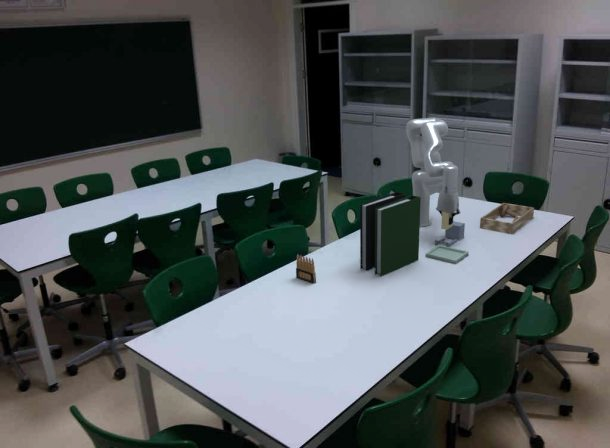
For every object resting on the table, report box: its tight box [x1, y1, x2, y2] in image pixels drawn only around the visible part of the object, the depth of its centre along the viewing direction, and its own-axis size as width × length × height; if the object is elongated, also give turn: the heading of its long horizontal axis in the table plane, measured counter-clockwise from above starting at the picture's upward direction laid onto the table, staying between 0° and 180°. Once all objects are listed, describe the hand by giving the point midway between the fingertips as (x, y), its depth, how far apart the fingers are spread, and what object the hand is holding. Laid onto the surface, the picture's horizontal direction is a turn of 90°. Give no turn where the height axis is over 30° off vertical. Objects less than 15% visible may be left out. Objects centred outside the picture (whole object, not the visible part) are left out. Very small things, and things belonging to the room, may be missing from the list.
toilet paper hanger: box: [499, 205, 519, 223], centre depth 308 cm, size 25×9×8 cm, turn 151°
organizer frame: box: [479, 202, 535, 235], centre depth 306 cm, size 18×34×6 cm, turn 140°
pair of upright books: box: [359, 191, 421, 278], centre depth 253 cm, size 27×15×32 cm, turn 132°
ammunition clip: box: [295, 253, 317, 284], centre depth 242 cm, size 11×2×12 cm, turn 48°
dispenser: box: [434, 220, 466, 248], centre depth 282 cm, size 8×18×8 cm, turn 140°
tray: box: [424, 244, 469, 265], centre depth 264 cm, size 16×14×2 cm
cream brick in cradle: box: [440, 211, 453, 230], centre depth 277 cm, size 3×7×9 cm, turn 140°
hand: (447, 223), depth 278 cm, fingers closed on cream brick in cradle, 3 cm apart
